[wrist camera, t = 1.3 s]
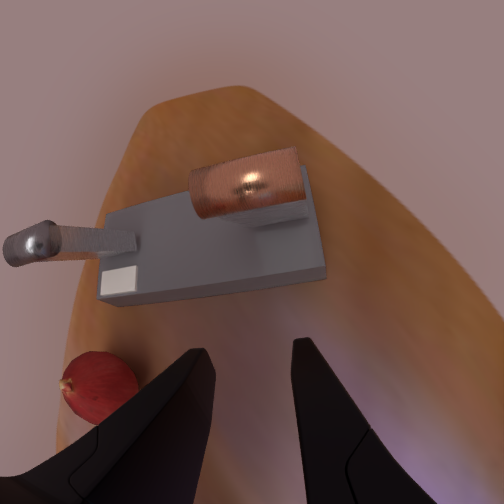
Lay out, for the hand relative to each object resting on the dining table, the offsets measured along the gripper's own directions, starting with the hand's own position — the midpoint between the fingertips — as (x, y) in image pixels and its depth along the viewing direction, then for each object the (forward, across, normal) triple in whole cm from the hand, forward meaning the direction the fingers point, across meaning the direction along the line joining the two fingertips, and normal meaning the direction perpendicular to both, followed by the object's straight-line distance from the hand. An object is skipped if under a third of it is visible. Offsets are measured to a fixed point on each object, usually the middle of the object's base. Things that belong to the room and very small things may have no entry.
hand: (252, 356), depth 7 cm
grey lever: (+14, +13, 0) cm, 19 cm away
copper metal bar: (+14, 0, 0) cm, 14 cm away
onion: (+9, +14, +11) cm, 20 cm away
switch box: (+16, +6, +3) cm, 18 cm away
